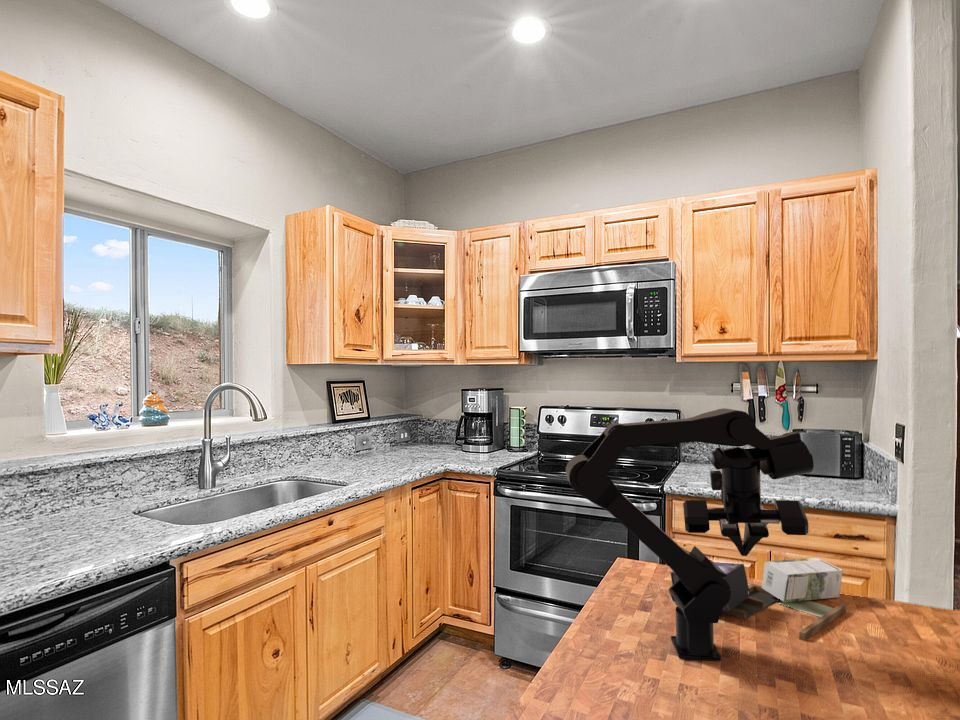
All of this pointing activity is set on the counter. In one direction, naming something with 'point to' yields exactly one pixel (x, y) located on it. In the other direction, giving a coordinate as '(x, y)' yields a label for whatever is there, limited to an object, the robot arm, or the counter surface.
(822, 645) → the counter surface
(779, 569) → the syrup box
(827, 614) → the lane
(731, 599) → the small box
